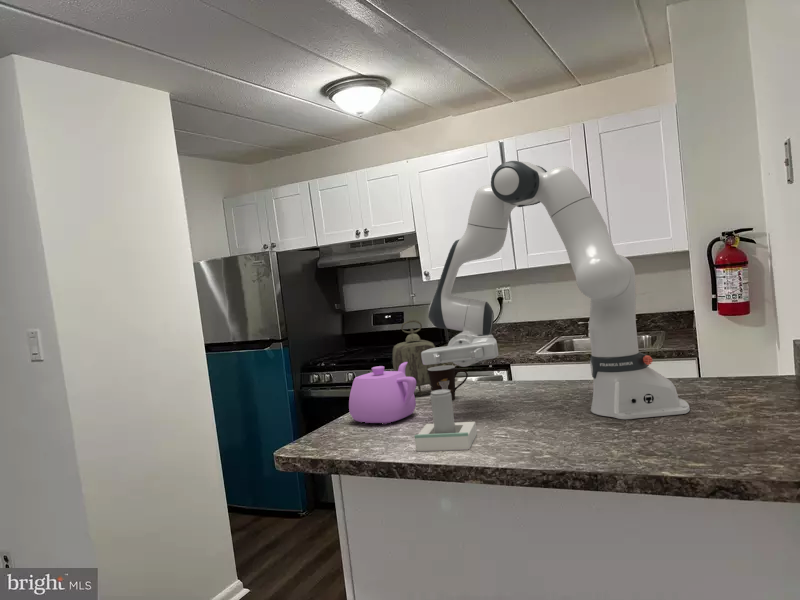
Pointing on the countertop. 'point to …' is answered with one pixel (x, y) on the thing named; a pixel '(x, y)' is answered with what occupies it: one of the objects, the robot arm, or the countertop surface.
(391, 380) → the teapot
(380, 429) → the countertop surface
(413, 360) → the tabletop clock
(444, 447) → the socket block
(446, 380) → the coffee mug
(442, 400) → the beverage can
